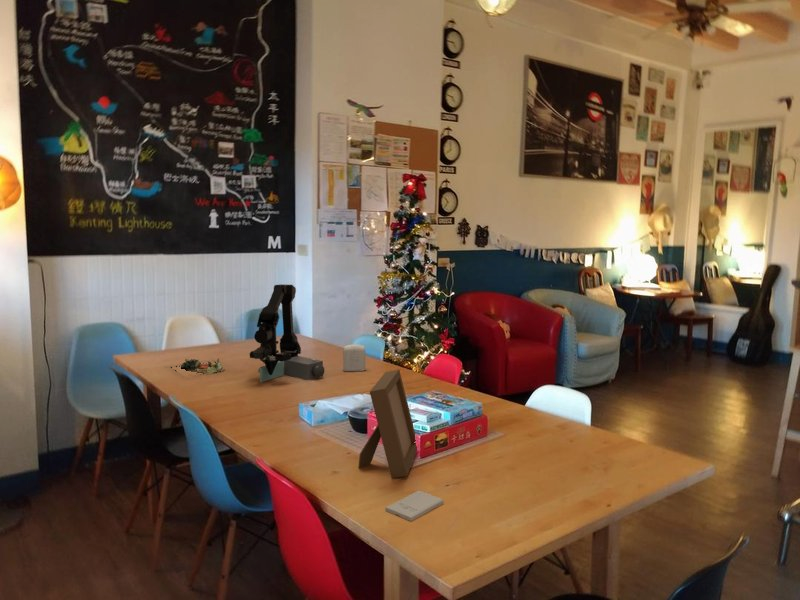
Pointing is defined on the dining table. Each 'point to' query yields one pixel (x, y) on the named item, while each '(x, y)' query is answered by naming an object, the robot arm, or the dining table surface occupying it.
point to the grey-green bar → (276, 373)
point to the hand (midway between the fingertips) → (270, 375)
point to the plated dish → (202, 366)
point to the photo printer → (354, 358)
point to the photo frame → (391, 426)
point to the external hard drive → (414, 505)
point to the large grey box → (303, 368)
